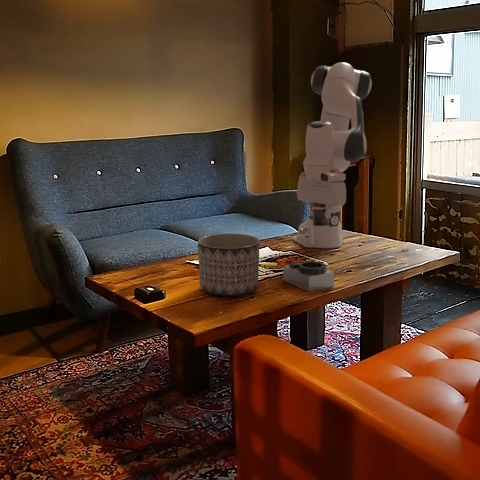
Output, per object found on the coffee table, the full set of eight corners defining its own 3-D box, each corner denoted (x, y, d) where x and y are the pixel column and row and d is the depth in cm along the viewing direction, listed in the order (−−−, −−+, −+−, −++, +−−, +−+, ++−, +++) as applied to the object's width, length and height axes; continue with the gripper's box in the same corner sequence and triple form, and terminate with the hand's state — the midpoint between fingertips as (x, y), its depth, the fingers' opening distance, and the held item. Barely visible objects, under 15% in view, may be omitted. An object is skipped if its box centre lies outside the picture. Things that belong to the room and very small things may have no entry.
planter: (211, 304, 185) (211, 251, 181) (190, 285, 202) (189, 236, 198) (269, 295, 193) (270, 244, 189) (244, 278, 210) (244, 231, 206)
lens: (309, 224, 199) (309, 202, 198) (321, 222, 202) (321, 200, 200) (319, 226, 195) (319, 203, 194) (332, 224, 198) (331, 201, 196)
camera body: (283, 280, 208) (283, 260, 206) (307, 275, 213) (307, 256, 211) (308, 291, 196) (309, 271, 195) (333, 286, 201) (334, 266, 200)
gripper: (292, 172, 202) (292, 214, 205) (333, 177, 185) (334, 222, 188) (307, 170, 205) (307, 212, 208) (349, 175, 188) (349, 219, 191)
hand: (320, 217), depth 198 cm, fingers closed on lens, 5 cm apart
